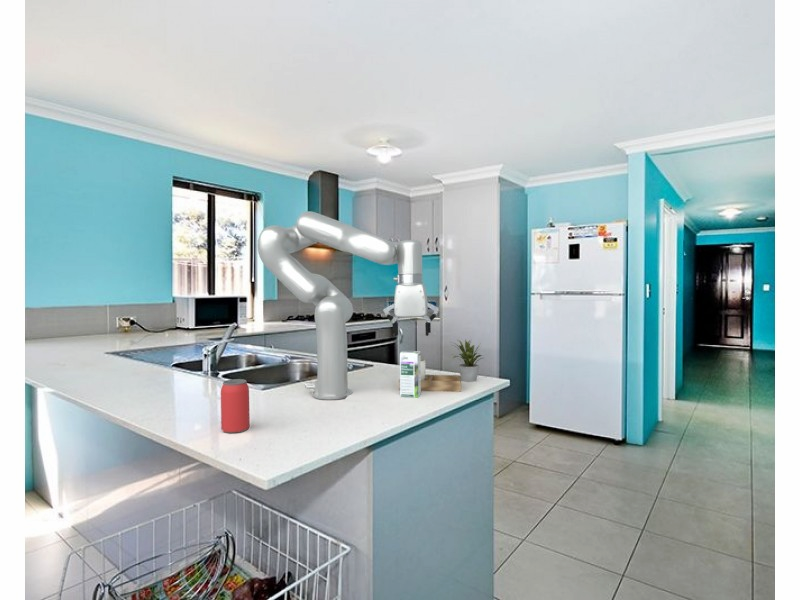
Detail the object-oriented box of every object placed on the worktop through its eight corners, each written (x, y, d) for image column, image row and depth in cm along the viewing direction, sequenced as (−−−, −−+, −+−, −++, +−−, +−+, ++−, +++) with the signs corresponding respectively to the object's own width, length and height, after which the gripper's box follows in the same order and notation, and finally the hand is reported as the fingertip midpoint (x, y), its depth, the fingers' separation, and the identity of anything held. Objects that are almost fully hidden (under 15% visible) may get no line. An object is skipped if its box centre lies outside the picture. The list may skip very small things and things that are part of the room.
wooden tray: (398, 392, 154) (398, 380, 154) (403, 385, 164) (403, 374, 164) (460, 394, 151) (460, 381, 151) (460, 387, 162) (460, 375, 162)
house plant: (437, 380, 172) (437, 336, 171) (466, 376, 180) (466, 333, 179) (463, 388, 160) (463, 340, 159) (493, 383, 168) (493, 337, 167)
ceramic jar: (406, 388, 156) (406, 358, 156) (408, 384, 162) (408, 355, 162) (424, 389, 155) (424, 359, 155) (426, 385, 161) (426, 356, 161)
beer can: (225, 426, 119) (224, 378, 119) (252, 425, 120) (251, 378, 119) (217, 434, 112) (216, 384, 112) (246, 433, 113) (245, 383, 113)
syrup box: (399, 399, 145) (399, 352, 145) (403, 395, 151) (403, 349, 150) (417, 400, 144) (417, 353, 143) (421, 395, 150) (421, 350, 149)
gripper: (380, 281, 143) (382, 337, 144) (437, 279, 141) (439, 336, 142) (384, 281, 151) (386, 334, 151) (439, 279, 148) (440, 333, 149)
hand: (411, 335), depth 147 cm, fingers open, 9 cm apart
